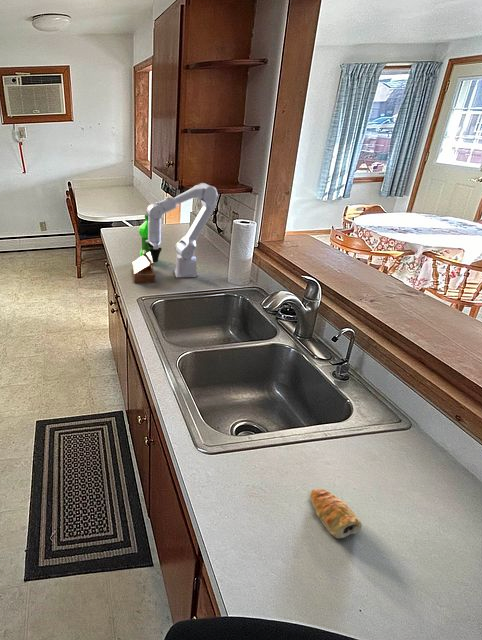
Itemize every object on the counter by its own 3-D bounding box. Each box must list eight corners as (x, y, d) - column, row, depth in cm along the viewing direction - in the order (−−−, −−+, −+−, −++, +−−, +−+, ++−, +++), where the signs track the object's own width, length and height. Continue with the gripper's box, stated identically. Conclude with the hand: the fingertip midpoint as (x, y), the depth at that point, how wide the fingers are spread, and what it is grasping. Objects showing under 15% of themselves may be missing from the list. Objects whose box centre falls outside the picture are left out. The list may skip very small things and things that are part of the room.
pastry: (300, 499, 81) (303, 486, 80) (326, 490, 83) (330, 477, 81) (335, 543, 73) (339, 529, 72) (364, 532, 75) (369, 518, 73)
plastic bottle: (136, 258, 211) (135, 213, 201) (154, 256, 214) (154, 211, 204) (143, 265, 202) (143, 218, 192) (162, 262, 205) (162, 215, 195)
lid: (150, 251, 193) (145, 244, 192) (153, 263, 179) (148, 255, 177) (133, 262, 196) (127, 255, 194) (134, 275, 181) (129, 267, 180)
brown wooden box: (151, 269, 197) (151, 262, 195) (154, 282, 183) (154, 274, 181) (132, 270, 197) (132, 263, 196) (134, 282, 183) (134, 275, 181)
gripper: (144, 226, 184) (144, 253, 190) (146, 236, 171) (147, 264, 177) (159, 226, 184) (159, 253, 190) (163, 235, 171) (162, 264, 176)
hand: (154, 258), depth 183 cm, fingers open, 7 cm apart
